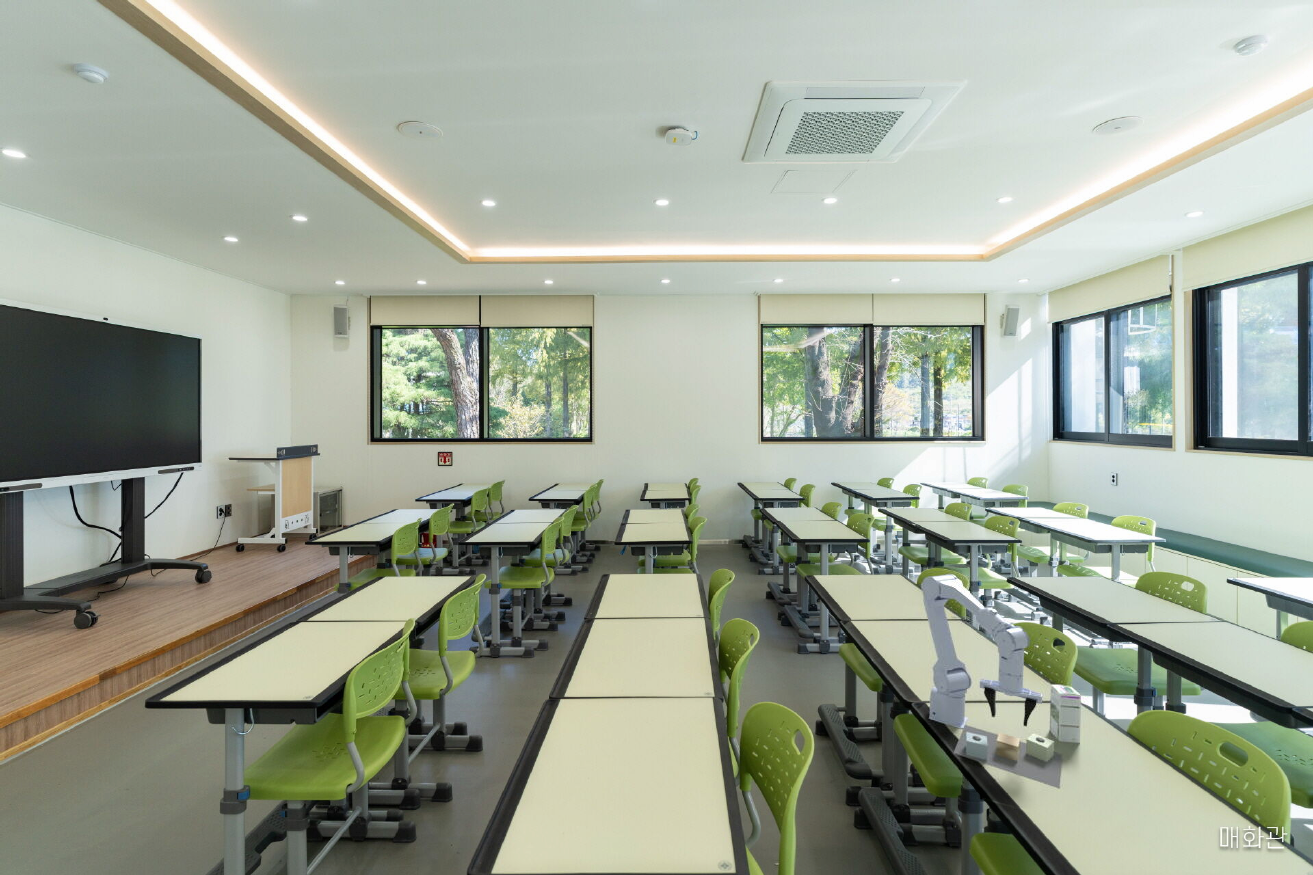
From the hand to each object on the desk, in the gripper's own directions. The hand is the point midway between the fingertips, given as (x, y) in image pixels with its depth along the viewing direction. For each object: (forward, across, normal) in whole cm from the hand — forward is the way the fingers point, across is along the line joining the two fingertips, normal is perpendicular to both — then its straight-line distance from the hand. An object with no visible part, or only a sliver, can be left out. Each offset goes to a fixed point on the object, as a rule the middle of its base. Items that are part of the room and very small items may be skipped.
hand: (1009, 719), depth 157 cm
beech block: (+10, 0, 0) cm, 10 cm away
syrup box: (+10, +12, +20) cm, 25 cm away
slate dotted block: (+10, -7, -5) cm, 13 cm away
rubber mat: (+10, 0, 0) cm, 10 cm away
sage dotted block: (+10, +7, +5) cm, 13 cm away
